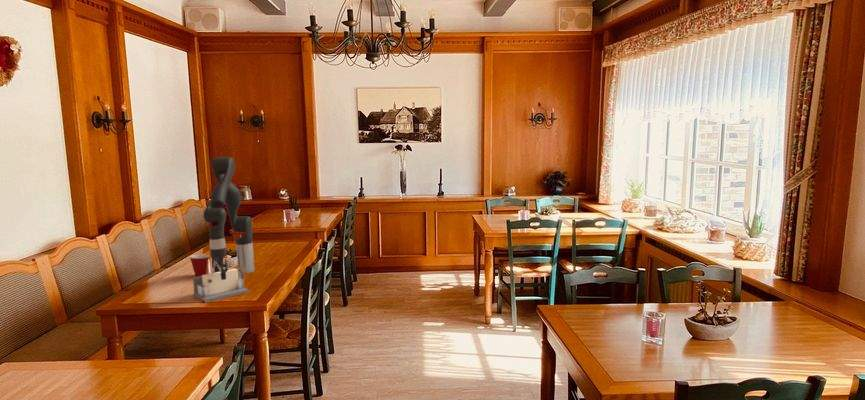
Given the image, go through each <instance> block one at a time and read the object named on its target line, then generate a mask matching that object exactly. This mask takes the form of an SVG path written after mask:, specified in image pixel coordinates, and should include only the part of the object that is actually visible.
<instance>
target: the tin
mask: <svg viewBox="0 0 865 400" xmlns="http://www.w3.org/2000/svg"><path fill="white" fill-rule="evenodd" d="M235 268H236V269H238V276H239V277H241V278H243V279H244V280H245V279H246V276H247V275H246V273H245V272H244V270H243V269H241V268H238V266H237V267H235V266H234V267H233V266H232V267H231V266H230V267H229V266H227V270H230V269H235ZM223 270H224V269H223Z"/></svg>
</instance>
